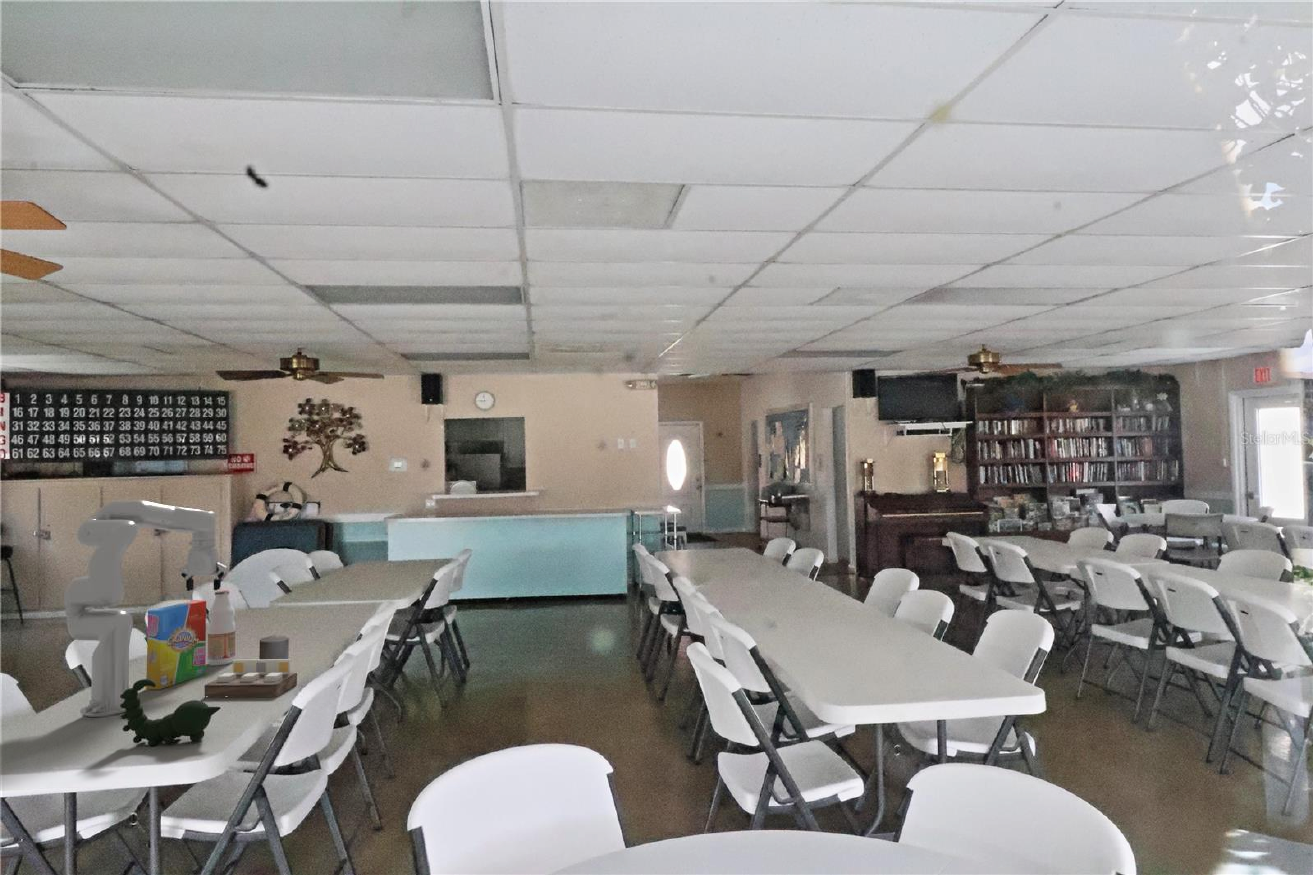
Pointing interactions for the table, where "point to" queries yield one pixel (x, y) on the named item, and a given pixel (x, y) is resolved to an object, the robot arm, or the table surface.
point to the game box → (176, 643)
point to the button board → (251, 687)
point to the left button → (227, 677)
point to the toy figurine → (164, 718)
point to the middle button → (250, 677)
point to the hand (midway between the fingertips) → (203, 590)
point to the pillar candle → (274, 647)
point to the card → (261, 666)
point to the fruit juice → (221, 630)
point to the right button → (273, 677)
